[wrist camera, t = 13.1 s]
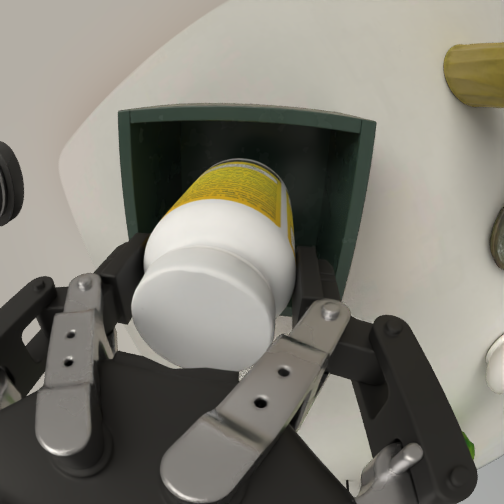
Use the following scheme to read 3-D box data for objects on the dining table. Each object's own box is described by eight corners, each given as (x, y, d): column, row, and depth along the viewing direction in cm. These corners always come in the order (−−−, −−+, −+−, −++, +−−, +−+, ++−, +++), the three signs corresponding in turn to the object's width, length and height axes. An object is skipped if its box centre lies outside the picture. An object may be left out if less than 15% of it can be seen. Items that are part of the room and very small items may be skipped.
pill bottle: (174, 191, 18) (78, 296, 9) (254, 136, 16) (214, 195, 7) (230, 263, 21) (192, 400, 11) (309, 219, 19) (333, 355, 9)
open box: (179, 237, 28) (139, 299, 20) (175, 104, 22) (117, 110, 14) (321, 249, 27) (336, 319, 19) (340, 112, 21) (377, 121, 13)
